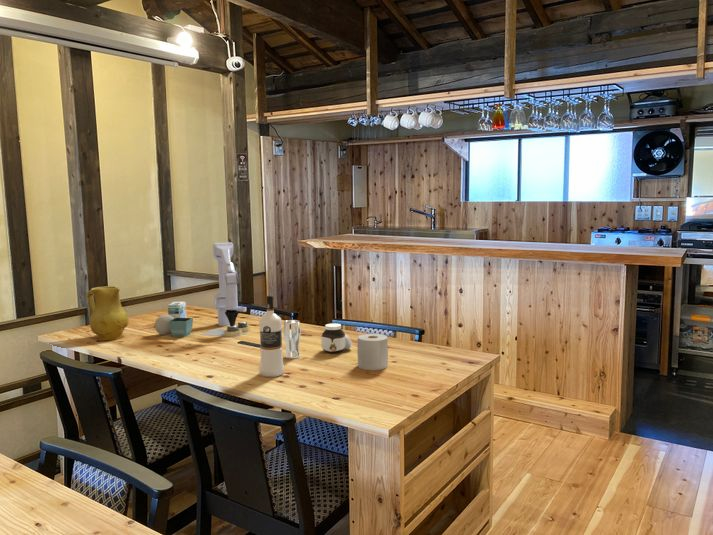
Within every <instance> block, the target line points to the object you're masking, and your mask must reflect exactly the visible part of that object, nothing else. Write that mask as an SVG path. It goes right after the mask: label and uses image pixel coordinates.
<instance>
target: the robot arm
mask: <svg viewBox="0 0 713 535" xmlns="http://www.w3.org/2000/svg"><path fill="white" fill-rule="evenodd" d="M233 254H234V243H232V241H230V242H213V244H212V257H213V259H214V260H215V259H216V260H217V264H218V265H217V267H218V287H219V290H218V292H216V293H215V294H214V295H213V296H214V300H213V303H214V308H215V310H217V325H218V326H221V327H227V326H234V325H236V321H237V317H238V315H239V313H240V312H243V313H245V312H247V307H246V306H239V305H238V302H239V300H238V284H239V276H238V272H237V271H236V269H235V265H234V263H233V262H231V258H232V257H233Z"/></svg>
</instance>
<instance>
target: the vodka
mask: <svg viewBox="0 0 713 535" xmlns="http://www.w3.org/2000/svg"><path fill="white" fill-rule="evenodd" d="M274 306H275V305H274V295H266V313H264V314H263V315H262V316H261V317H260V318H259V321H258V324H259V334H260V335H259V336H260V337H259V338H260V339H259V340H260V349H259V350H260V364H259V374H260V375H261V376H262V377H265V378H275V377H280V376H281V375H283V374H284V373H285V366H284V359H283V342H282V340H283V338H282V337H283V335H282V333H283V332H282V329H283V326H282V324H283V321H282V318H281V317H280V316H279V315H278V314H276V313H274V312H275V311H274V310H275V309H274Z"/></svg>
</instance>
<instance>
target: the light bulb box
mask: <svg viewBox="0 0 713 535" xmlns="http://www.w3.org/2000/svg"><path fill="white" fill-rule="evenodd" d="M167 311H168V312H167V313H168V314H167V315H170V316H172V317H173V318H188V317H187V302H186V301H172V302H170V303H169V304H167Z"/></svg>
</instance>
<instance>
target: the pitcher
mask: <svg viewBox="0 0 713 535" xmlns="http://www.w3.org/2000/svg"><path fill="white" fill-rule="evenodd" d="M120 291H121V290H120V288H119V286H118V285H115V286H114V285H113V286H112V285H111V286H110V285H109V286H107V285H106V286H97V287H92V288H90V290H88V291H87V293H86V299H87V304H88V306H87V307H88V308H89V312H90V317H89V327H90V330H91V332H92V333H94V334H95V335H96V336H97V337H96V341H102V342H103V341H113V340H114V341H116V340H120V339H123V338H124V335H123V333H124V331H125V328H127V327H128V326H129V324H130V322H129V316H128V313H127V312H126V311H125V309H124V307H123V306H122V304H121V298H120Z"/></svg>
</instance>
